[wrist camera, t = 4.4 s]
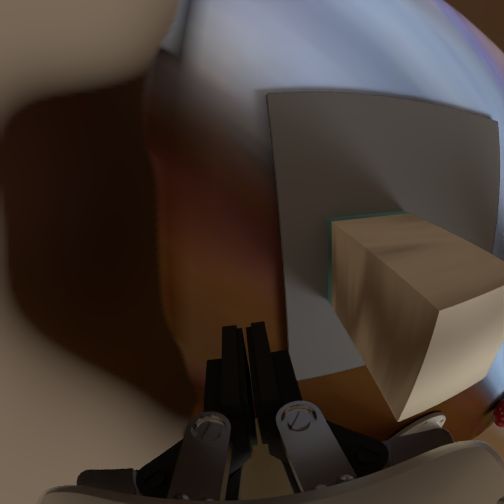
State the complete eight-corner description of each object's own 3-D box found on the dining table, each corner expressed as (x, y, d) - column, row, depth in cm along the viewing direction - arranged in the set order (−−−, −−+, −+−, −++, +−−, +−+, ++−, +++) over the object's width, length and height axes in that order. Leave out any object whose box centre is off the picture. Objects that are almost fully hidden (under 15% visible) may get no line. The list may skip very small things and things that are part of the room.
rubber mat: (469, 322, 23) (472, 325, 22) (289, 377, 22) (290, 381, 22) (493, 121, 15) (497, 121, 15) (265, 95, 14) (267, 93, 14)
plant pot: (350, 378, 23) (411, 516, 8) (325, 447, 29) (353, 543, 14) (194, 393, 22) (185, 555, 8) (213, 459, 28) (216, 561, 13)
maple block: (397, 286, 19) (485, 376, 9) (327, 300, 19) (397, 422, 9) (403, 210, 17) (525, 274, 7) (327, 218, 17) (439, 310, 7)
